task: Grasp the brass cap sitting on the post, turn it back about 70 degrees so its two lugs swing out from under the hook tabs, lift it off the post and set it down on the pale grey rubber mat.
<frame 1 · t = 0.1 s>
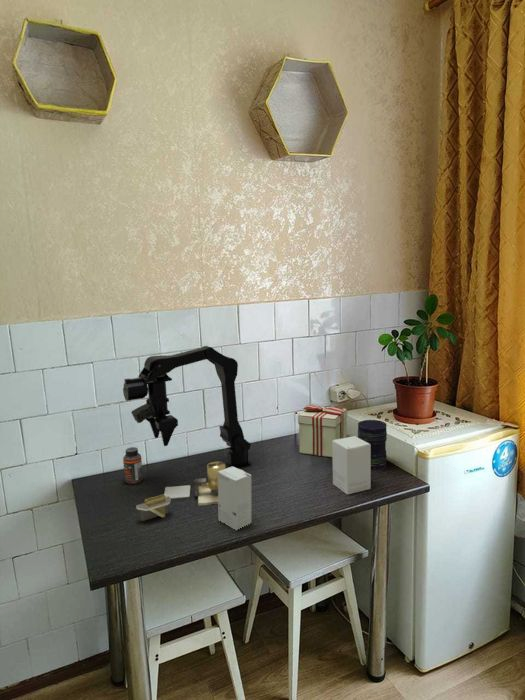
hand: (161, 441, 163), 15 cm above the table, tool pointing down, fingers open, 9 cm apart
skincare box: (235, 523, 139), on the table
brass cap: (217, 486, 155), point 3 cm above the table, touching bayonet post
supplement box: (351, 487, 159), on the table
gift box: (322, 448, 192), on the table
bayonet post: (217, 495, 156), on the table
grey mat: (177, 492, 159), on the table
storage jar: (372, 465, 175), on the table
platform: (156, 520, 143), on the table
supplement bottle: (134, 481, 169), on the table
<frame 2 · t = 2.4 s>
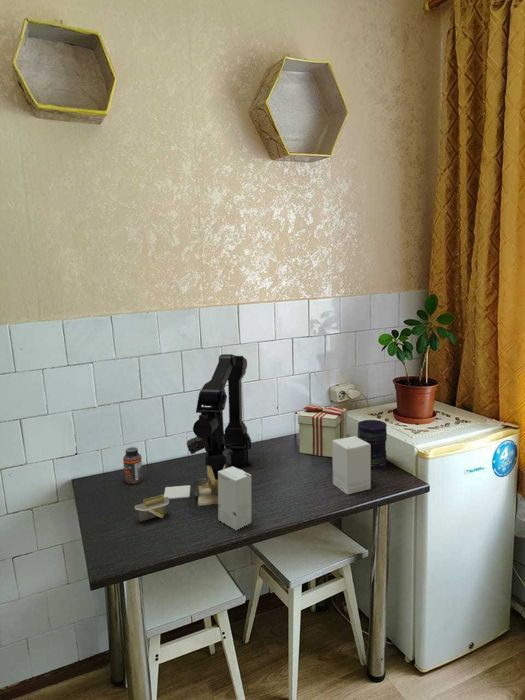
hand: (216, 475, 155), 7 cm above the table, tool pointing down, fingers closed on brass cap, 6 cm apart
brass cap: (217, 486, 155), point 3 cm above the table, touching bayonet post, gripper
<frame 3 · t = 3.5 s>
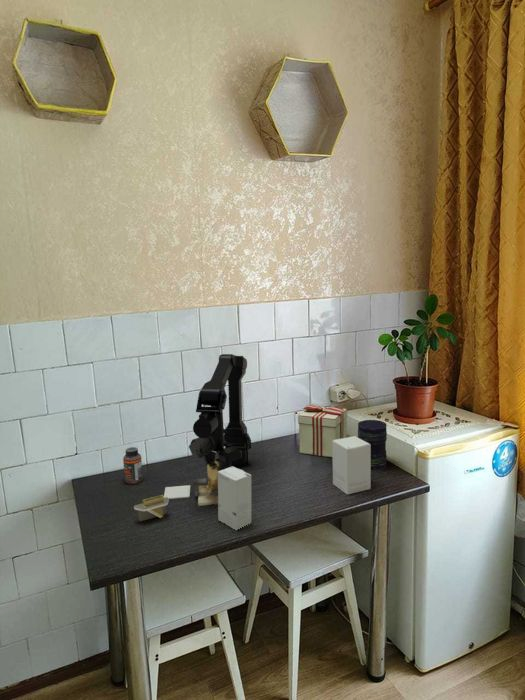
hand: (216, 475, 155), 7 cm above the table, tool pointing down, fingers closed on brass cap, 6 cm apart
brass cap: (217, 485, 155), point 3 cm above the table, touching gripper
everything else where it was.
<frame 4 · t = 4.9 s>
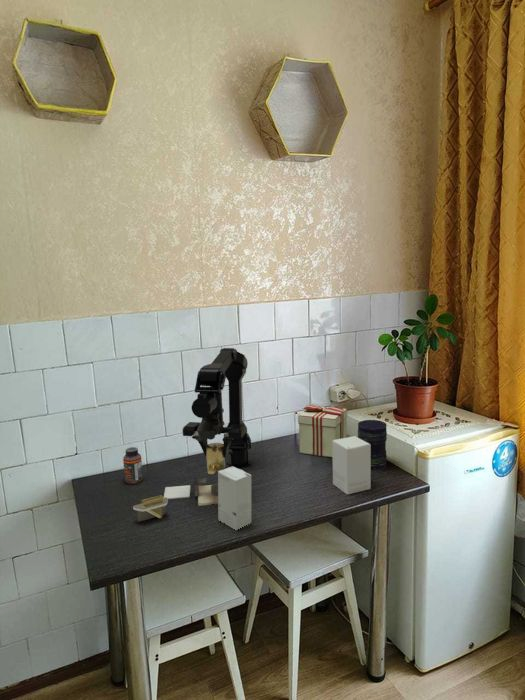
hand: (215, 456, 154), 13 cm above the table, tool pointing down, fingers closed on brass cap, 6 cm apart
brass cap: (216, 467, 154), point 9 cm above the table, touching gripper
everything else where it was.
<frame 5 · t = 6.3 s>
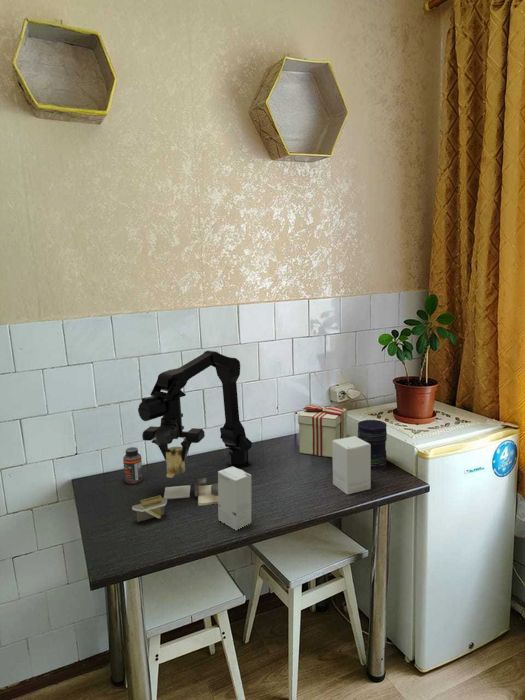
hand: (175, 460, 157), 11 cm above the table, tool pointing down, fingers closed on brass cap, 6 cm apart
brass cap: (176, 470, 157), point 7 cm above the table, touching gripper
when the fingers open (5 cm above the table, at t = 7.7 s): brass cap drops 1 cm, resting on grey mat.
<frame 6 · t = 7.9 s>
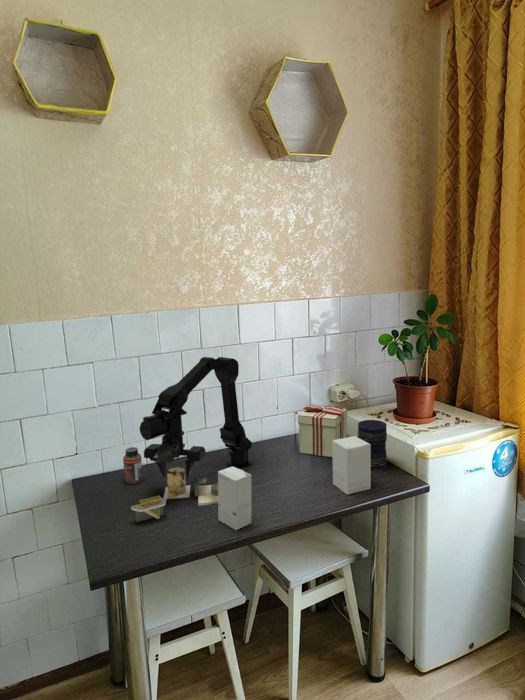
hand: (176, 477, 158), 5 cm above the table, tool pointing down, fingers open, 8 cm apart
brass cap: (177, 491, 159), resting on grey mat
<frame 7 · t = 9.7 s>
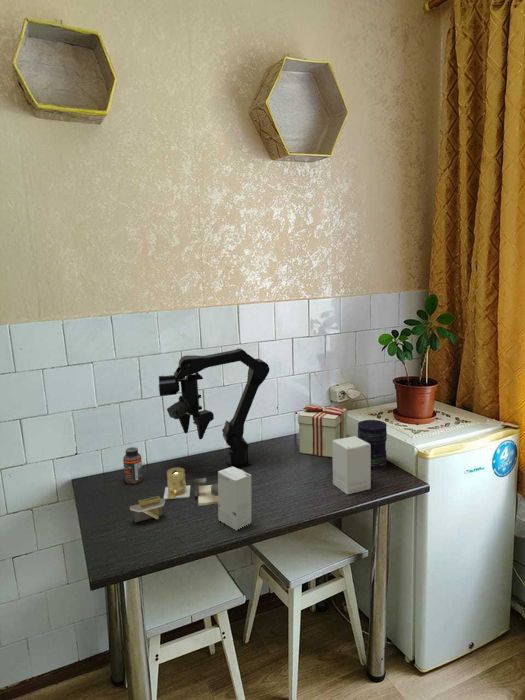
hand: (193, 436, 174), 13 cm above the table, tool pointing down, fingers open, 9 cm apart
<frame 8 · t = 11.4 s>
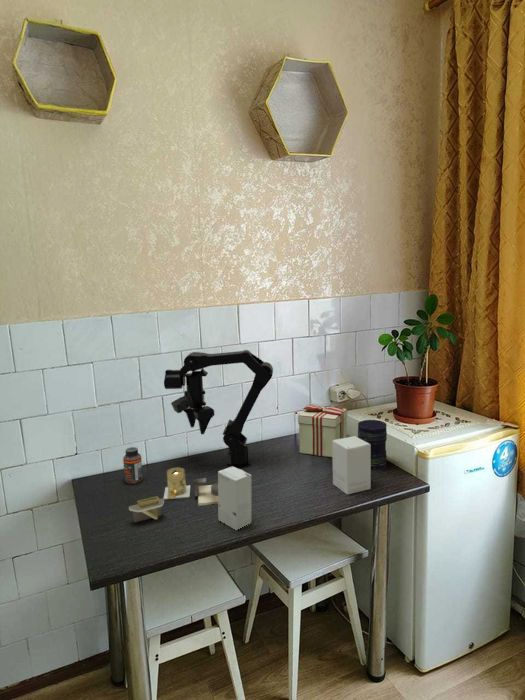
hand: (197, 430, 178), 13 cm above the table, tool pointing down, fingers open, 9 cm apart
at the end: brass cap inside the target area on the grey mat (0.0 cm from its centre), point 0.3 cm above the grey mat's base; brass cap tilted 0°; the gripper is holding nothing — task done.
